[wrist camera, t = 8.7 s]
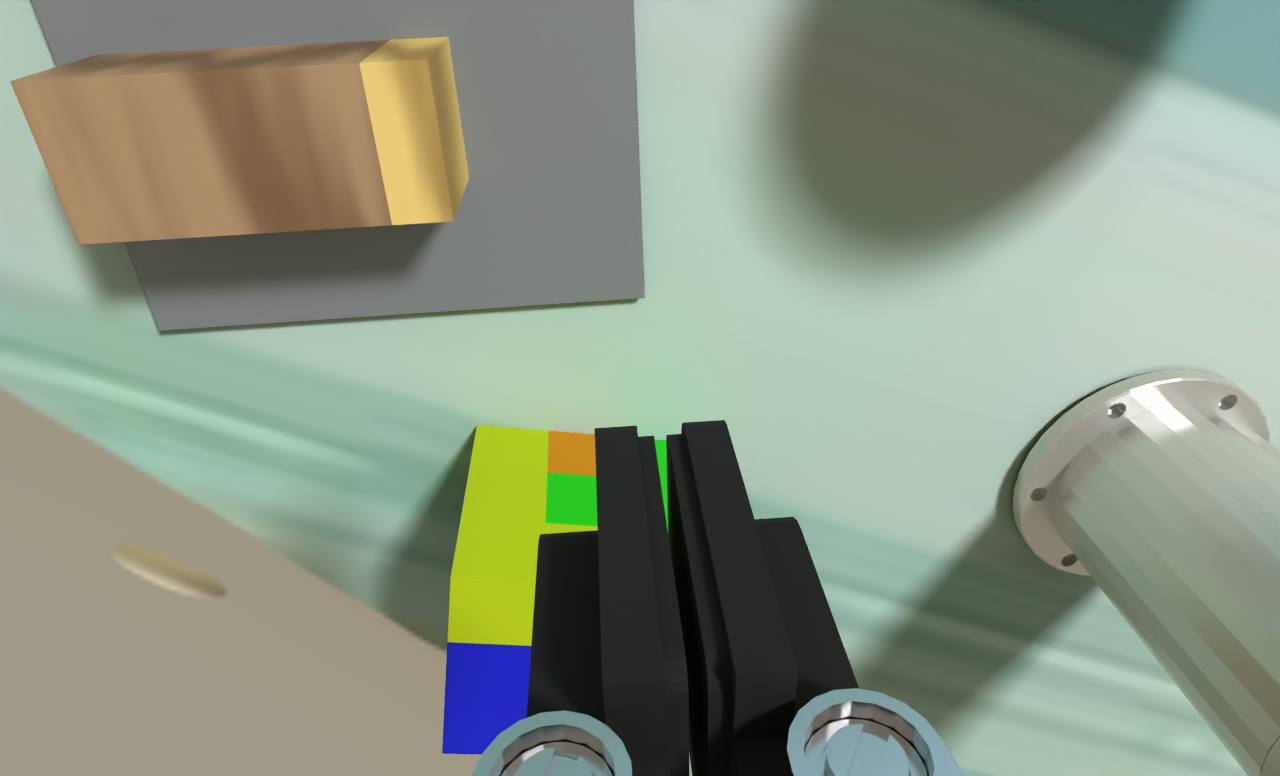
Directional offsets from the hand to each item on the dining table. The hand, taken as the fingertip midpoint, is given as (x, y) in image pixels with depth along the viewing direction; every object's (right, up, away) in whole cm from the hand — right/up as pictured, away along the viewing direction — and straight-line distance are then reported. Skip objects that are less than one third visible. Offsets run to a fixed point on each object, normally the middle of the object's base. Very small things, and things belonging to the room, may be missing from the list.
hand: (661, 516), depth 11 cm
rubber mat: (-10, +12, +19) cm, 25 cm away
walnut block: (-7, +11, +17) cm, 21 cm away
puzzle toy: (-4, -5, +30) cm, 31 cm away
